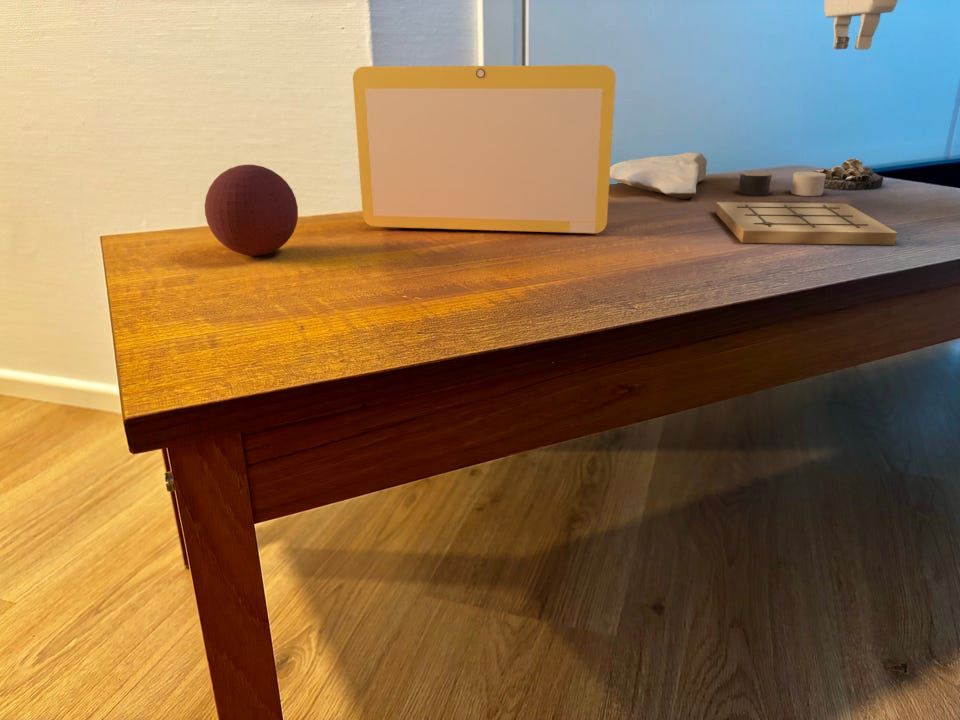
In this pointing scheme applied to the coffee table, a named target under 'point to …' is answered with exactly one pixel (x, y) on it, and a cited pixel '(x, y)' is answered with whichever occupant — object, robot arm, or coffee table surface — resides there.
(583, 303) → the coffee table surface
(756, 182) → the black stone
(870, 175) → the grey lumpy piece
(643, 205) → the coffee table surface
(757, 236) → the game board
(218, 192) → the decorative ball
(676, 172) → the decorative stone
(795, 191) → the white stone
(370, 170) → the tablet
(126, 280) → the coffee table surface
